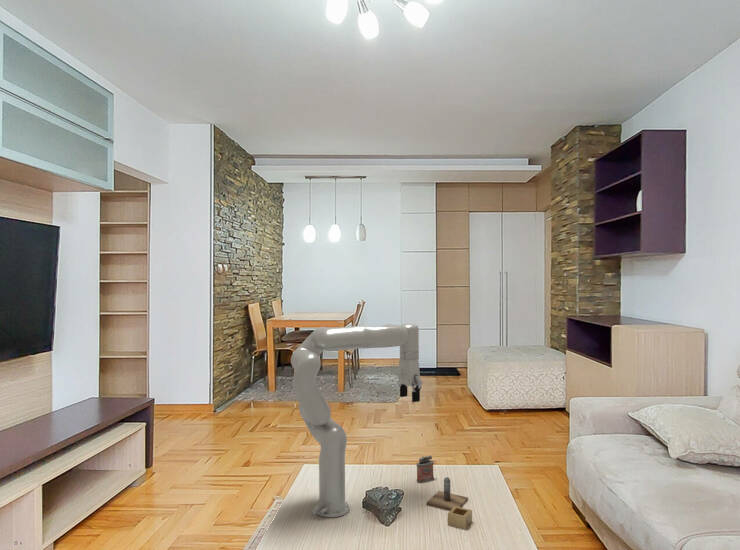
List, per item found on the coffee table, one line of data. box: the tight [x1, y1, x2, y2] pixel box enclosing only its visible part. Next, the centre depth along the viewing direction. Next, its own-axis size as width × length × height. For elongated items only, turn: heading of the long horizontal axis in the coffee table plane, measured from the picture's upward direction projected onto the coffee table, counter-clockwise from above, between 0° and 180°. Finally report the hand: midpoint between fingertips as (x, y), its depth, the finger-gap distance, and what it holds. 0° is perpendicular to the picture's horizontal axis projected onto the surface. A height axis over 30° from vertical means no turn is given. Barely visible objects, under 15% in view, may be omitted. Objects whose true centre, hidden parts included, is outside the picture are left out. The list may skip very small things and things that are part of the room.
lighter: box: [416, 455, 435, 484], centre depth 208 cm, size 8×3×10 cm, turn 118°
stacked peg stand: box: [425, 477, 469, 512], centre depth 187 cm, size 12×12×9 cm
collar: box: [447, 506, 473, 531], centre depth 171 cm, size 6×6×4 cm
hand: (409, 399), depth 195 cm, fingers open, 9 cm apart
